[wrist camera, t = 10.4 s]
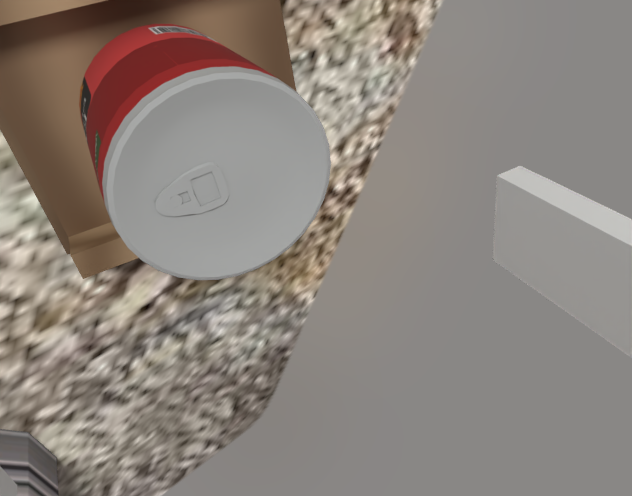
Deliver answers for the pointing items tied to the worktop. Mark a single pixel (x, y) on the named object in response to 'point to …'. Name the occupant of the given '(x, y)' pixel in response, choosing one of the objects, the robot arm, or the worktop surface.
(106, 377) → the worktop surface
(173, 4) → the brown square tray
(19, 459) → the can
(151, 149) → the canned food
